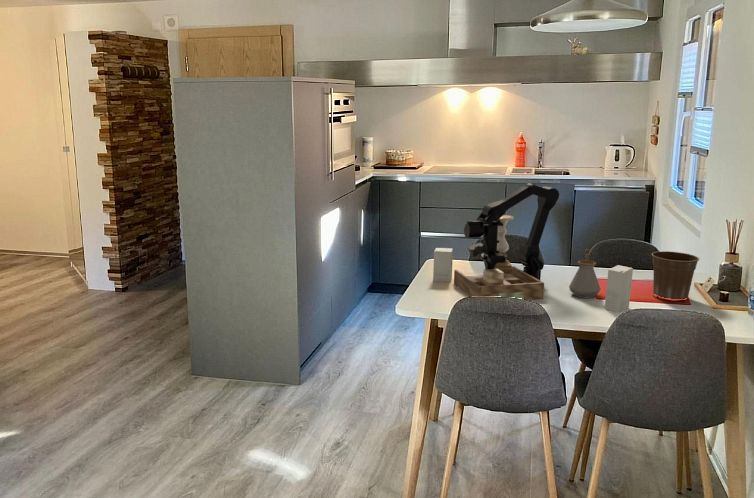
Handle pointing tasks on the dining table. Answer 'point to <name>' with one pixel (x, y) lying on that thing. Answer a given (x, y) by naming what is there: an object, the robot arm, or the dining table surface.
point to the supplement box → (443, 264)
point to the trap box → (502, 285)
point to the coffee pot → (585, 279)
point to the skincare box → (618, 288)
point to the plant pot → (673, 274)
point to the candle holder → (503, 245)
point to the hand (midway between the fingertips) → (488, 275)
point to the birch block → (493, 276)
